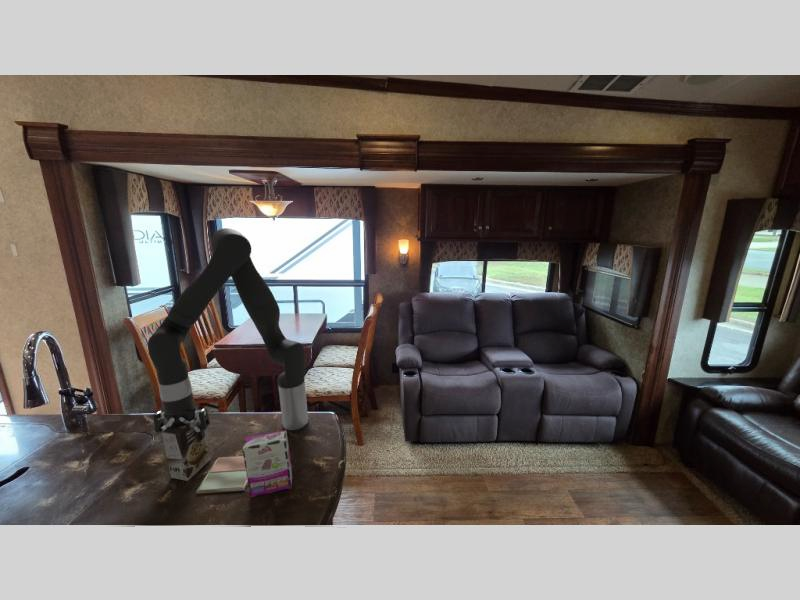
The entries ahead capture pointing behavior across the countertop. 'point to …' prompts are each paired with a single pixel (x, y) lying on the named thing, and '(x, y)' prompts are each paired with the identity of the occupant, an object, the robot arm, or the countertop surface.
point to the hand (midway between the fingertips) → (185, 441)
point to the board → (225, 476)
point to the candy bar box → (267, 463)
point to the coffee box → (185, 451)
